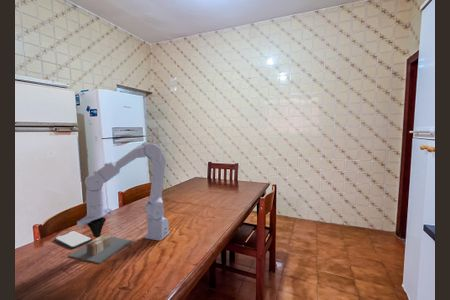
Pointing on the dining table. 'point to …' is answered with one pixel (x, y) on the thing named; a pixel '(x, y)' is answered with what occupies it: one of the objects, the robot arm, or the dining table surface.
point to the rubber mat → (104, 254)
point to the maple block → (98, 245)
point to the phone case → (73, 239)
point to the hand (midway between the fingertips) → (96, 236)
